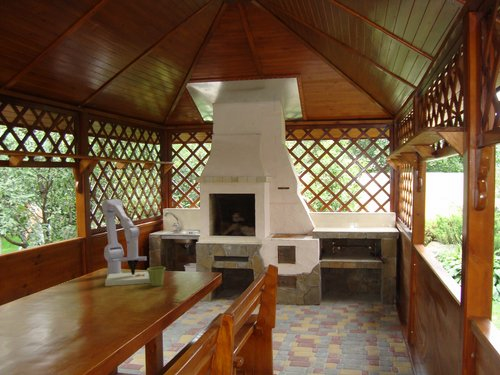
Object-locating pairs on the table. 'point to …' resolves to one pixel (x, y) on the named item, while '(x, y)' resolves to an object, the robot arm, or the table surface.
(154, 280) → the plant pot
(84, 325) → the table surface
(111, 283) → the deck
